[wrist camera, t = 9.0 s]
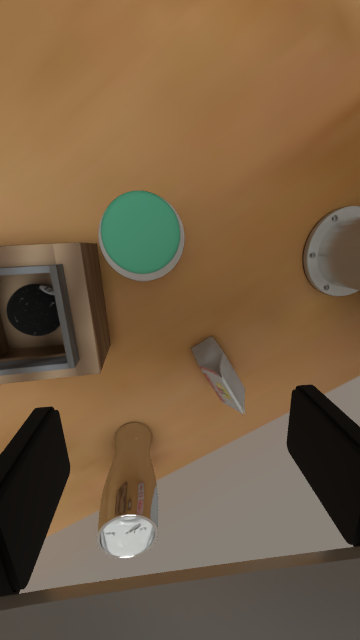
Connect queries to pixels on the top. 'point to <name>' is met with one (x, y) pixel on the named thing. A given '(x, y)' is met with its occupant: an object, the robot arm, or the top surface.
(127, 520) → the beer glass
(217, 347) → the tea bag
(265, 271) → the top surface
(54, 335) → the housing
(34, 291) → the billiard ball
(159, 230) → the milk bottle
